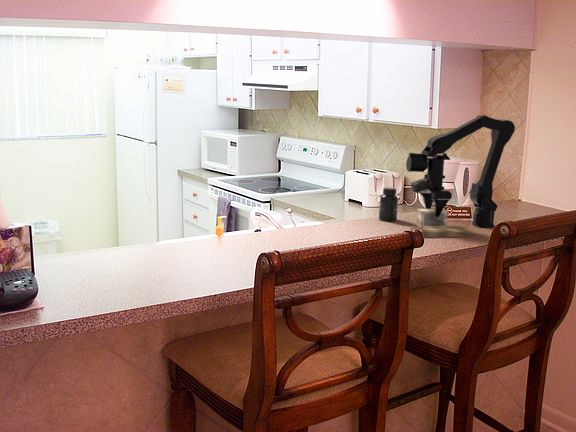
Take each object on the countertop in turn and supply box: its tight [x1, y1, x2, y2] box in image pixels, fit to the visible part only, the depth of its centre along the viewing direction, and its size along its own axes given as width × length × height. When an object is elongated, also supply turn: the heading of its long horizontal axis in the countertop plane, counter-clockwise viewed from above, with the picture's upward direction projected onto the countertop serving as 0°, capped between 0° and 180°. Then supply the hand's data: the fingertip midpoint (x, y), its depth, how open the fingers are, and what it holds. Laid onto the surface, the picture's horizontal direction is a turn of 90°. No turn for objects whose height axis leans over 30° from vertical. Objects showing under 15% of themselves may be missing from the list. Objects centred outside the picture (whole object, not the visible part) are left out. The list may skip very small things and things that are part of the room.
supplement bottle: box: [378, 187, 399, 222], centre depth 256 cm, size 7×7×12 cm
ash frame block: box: [415, 208, 449, 226], centre depth 248 cm, size 10×5×6 cm, turn 100°
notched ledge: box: [409, 225, 472, 238], centre depth 235 cm, size 18×10×2 cm, turn 100°
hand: (432, 214), depth 248 cm, fingers open, 9 cm apart
